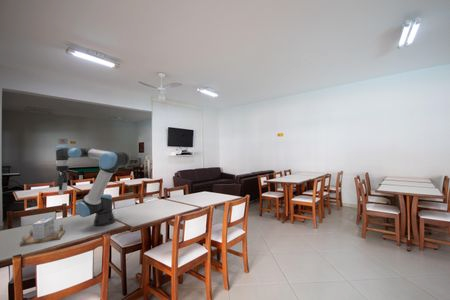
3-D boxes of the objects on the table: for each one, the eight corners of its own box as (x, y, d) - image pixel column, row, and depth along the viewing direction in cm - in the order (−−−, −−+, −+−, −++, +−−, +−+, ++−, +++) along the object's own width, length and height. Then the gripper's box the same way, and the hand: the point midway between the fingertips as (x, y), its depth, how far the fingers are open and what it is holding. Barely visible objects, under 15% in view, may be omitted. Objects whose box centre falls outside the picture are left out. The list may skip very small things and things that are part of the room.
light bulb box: (43, 233, 145) (43, 218, 145) (54, 232, 146) (54, 217, 146) (32, 240, 134) (32, 223, 134) (44, 239, 136) (43, 222, 136)
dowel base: (64, 231, 152) (64, 224, 152) (59, 239, 138) (59, 231, 138) (28, 237, 142) (28, 229, 142) (19, 246, 129) (19, 237, 129)
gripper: (60, 164, 171) (61, 190, 172) (51, 166, 149) (52, 196, 150) (71, 164, 175) (72, 189, 175) (64, 166, 153) (65, 194, 153)
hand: (63, 192), depth 162 cm, fingers open, 13 cm apart
